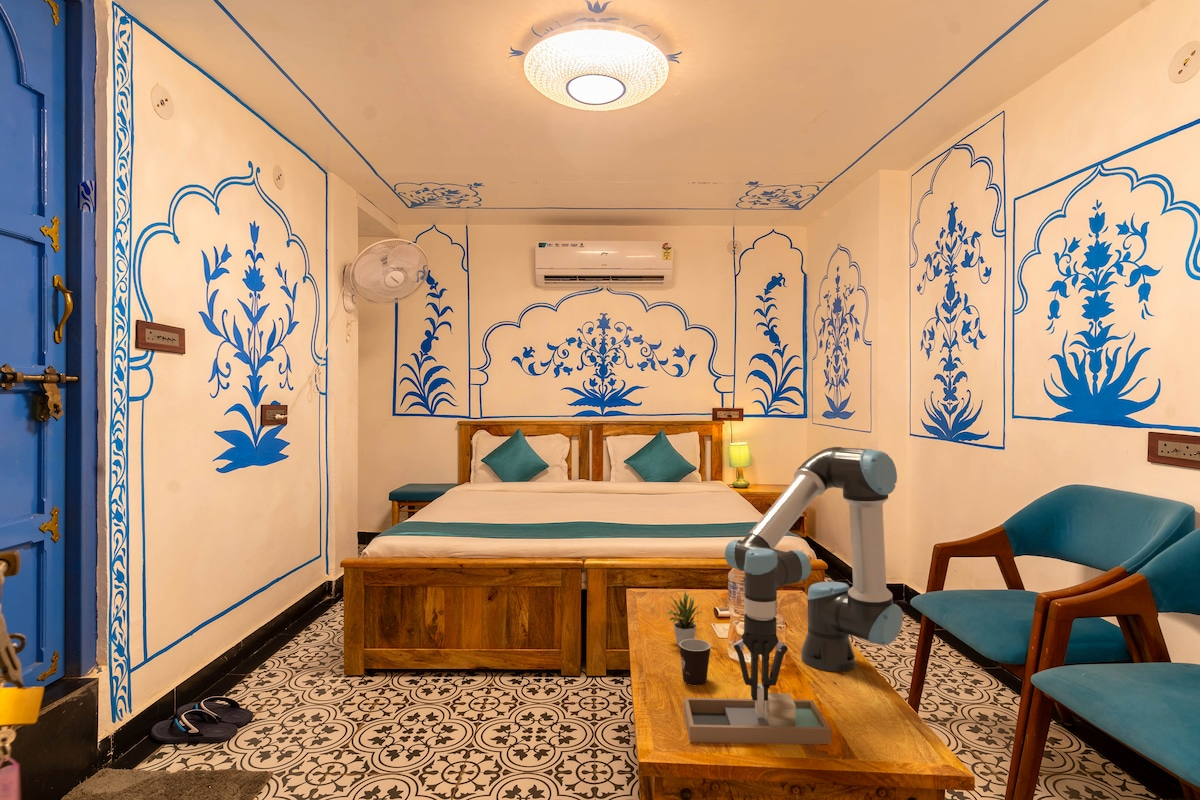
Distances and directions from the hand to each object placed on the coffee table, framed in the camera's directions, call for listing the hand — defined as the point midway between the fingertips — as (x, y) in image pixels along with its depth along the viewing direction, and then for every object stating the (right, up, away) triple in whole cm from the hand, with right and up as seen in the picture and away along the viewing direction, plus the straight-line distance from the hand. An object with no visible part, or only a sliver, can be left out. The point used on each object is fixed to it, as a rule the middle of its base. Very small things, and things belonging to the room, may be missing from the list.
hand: (759, 713), depth 154 cm
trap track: (-1, -3, 0) cm, 4 cm away
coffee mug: (-11, -3, +26) cm, 29 cm away
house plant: (-12, -3, +51) cm, 53 cm away
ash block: (+5, -1, 0) cm, 5 cm away
